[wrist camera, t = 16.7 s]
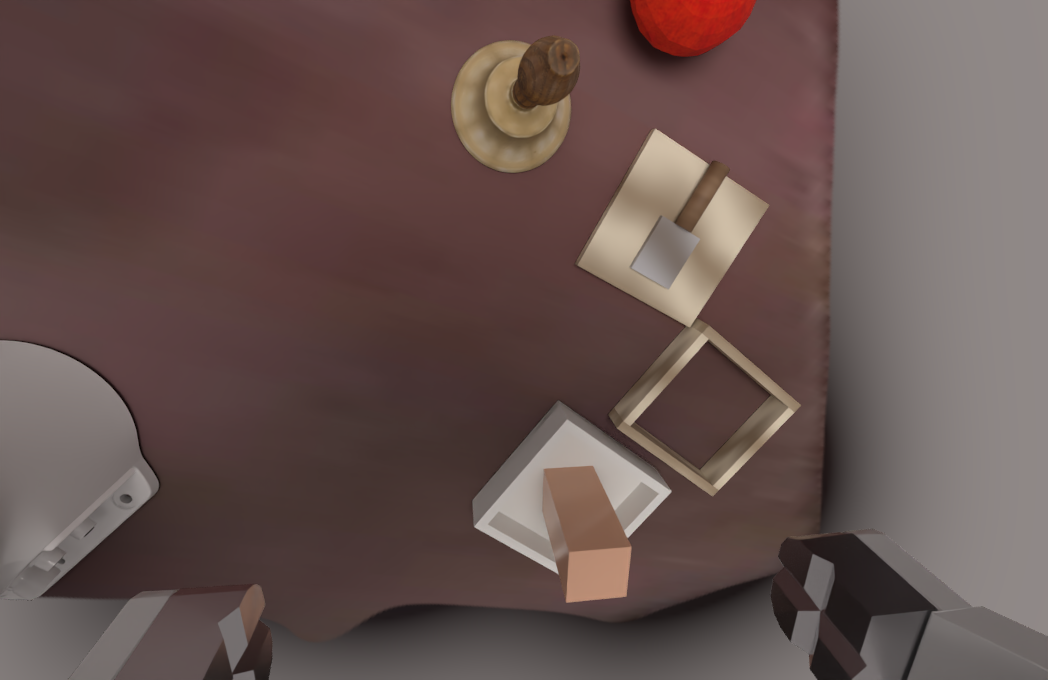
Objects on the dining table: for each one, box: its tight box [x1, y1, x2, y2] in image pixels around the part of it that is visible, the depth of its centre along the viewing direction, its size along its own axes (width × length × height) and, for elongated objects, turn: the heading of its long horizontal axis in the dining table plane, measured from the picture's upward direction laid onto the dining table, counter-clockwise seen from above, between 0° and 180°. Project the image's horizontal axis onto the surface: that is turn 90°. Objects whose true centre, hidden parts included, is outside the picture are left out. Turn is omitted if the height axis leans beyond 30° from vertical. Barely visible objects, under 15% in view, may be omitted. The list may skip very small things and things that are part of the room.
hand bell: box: [451, 36, 580, 173], centre depth 27 cm, size 8×8×16 cm
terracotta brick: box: [542, 466, 631, 603], centre depth 39 cm, size 4×4×10 cm
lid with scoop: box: [575, 129, 769, 327], centre depth 37 cm, size 11×11×2 cm
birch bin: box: [608, 318, 801, 496], centre depth 42 cm, size 11×12×2 cm
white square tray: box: [472, 400, 672, 574], centre depth 43 cm, size 12×12×4 cm
